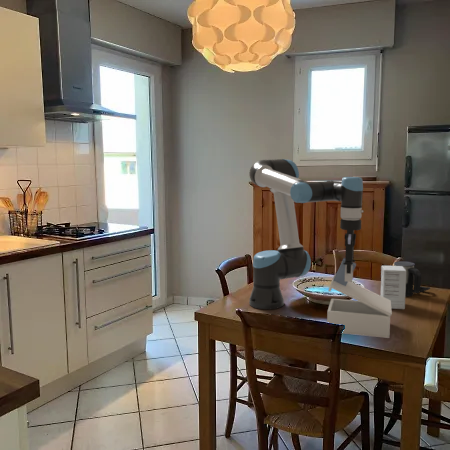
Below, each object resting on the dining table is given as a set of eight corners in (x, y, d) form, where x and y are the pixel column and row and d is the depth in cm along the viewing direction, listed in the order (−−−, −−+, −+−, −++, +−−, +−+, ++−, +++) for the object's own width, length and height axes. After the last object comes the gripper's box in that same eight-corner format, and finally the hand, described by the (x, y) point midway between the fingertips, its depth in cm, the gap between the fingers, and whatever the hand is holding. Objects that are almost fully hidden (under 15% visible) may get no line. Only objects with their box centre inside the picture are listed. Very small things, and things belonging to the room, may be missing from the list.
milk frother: (388, 294, 222) (390, 263, 219) (404, 287, 232) (405, 257, 230) (418, 300, 211) (420, 268, 209) (433, 293, 222) (435, 262, 220)
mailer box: (327, 331, 175) (327, 311, 174) (331, 317, 190) (331, 298, 189) (389, 338, 169) (390, 316, 167) (388, 322, 184) (389, 303, 182)
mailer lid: (328, 290, 173) (341, 263, 170) (332, 279, 188) (344, 254, 185) (388, 320, 168) (403, 292, 165) (387, 305, 183) (401, 280, 180)
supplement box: (405, 309, 199) (407, 270, 197) (382, 308, 201) (383, 270, 199) (401, 302, 208) (403, 265, 206) (379, 301, 210) (381, 264, 208)
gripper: (360, 222, 166) (358, 286, 169) (362, 216, 181) (359, 275, 184) (338, 221, 168) (336, 284, 172) (342, 215, 183) (340, 274, 187)
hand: (348, 279), depth 178 cm, fingers closed on mailer lid, 3 cm apart
